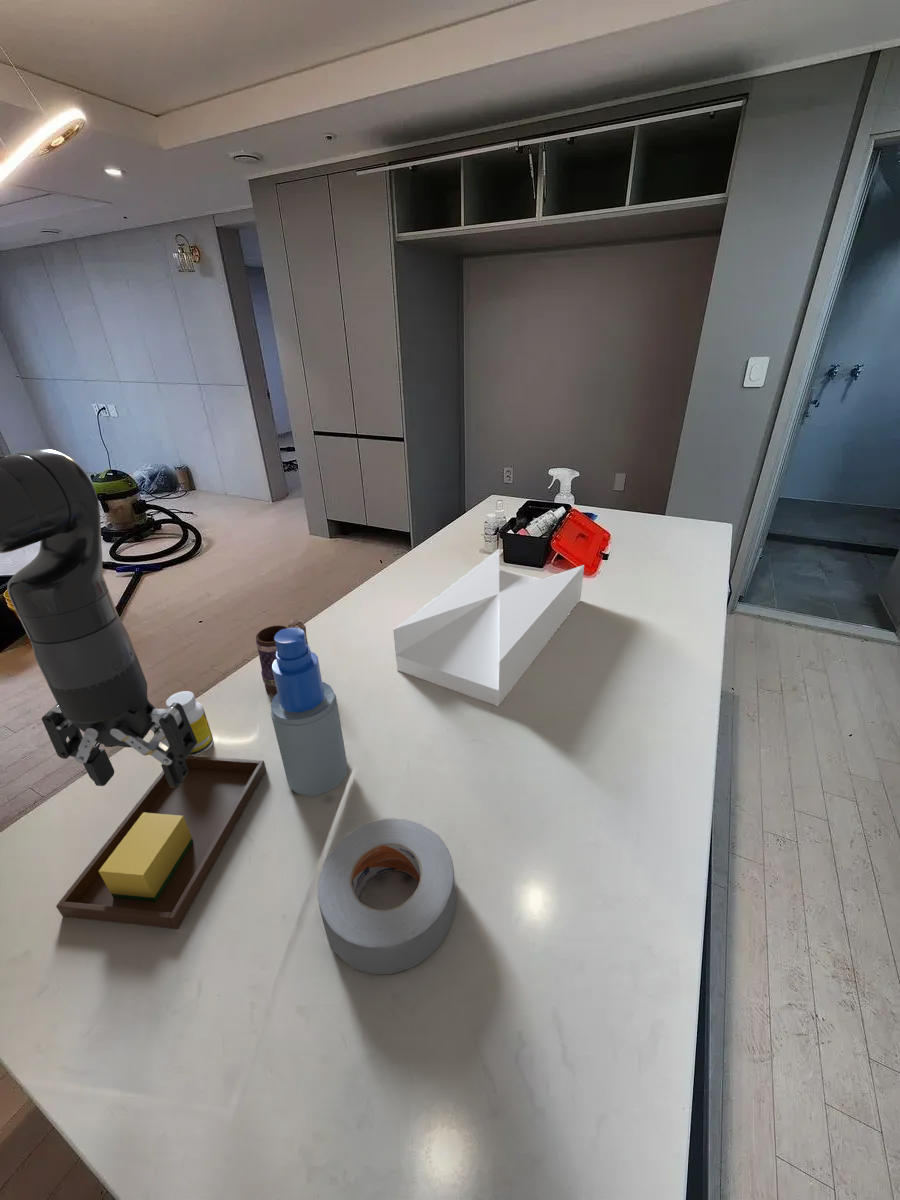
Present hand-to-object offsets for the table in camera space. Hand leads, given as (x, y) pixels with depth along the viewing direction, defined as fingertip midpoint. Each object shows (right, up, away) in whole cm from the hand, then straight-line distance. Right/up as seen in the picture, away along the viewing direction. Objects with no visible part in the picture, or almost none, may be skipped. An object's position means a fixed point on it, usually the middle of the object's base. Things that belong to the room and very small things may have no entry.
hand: (142, 780), depth 57 cm
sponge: (-2, -13, +6) cm, 14 cm away
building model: (+45, +13, +54) cm, 72 cm away
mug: (+4, +5, +40) cm, 41 cm away
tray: (-1, -11, +10) cm, 15 cm away
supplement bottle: (-7, -4, +25) cm, 26 cm away
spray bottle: (+15, -6, +19) cm, 25 cm away
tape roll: (+28, -15, +2) cm, 32 cm away
